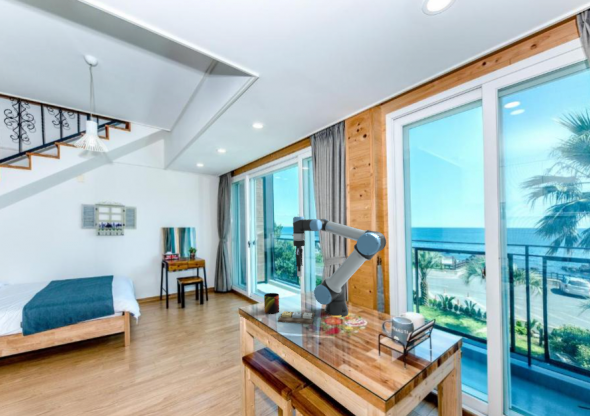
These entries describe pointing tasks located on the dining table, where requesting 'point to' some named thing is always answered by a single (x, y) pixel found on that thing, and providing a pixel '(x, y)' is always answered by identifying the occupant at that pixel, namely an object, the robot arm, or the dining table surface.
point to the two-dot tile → (297, 315)
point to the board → (296, 319)
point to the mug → (271, 303)
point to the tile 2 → (307, 315)
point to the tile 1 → (286, 314)
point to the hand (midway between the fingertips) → (299, 276)
